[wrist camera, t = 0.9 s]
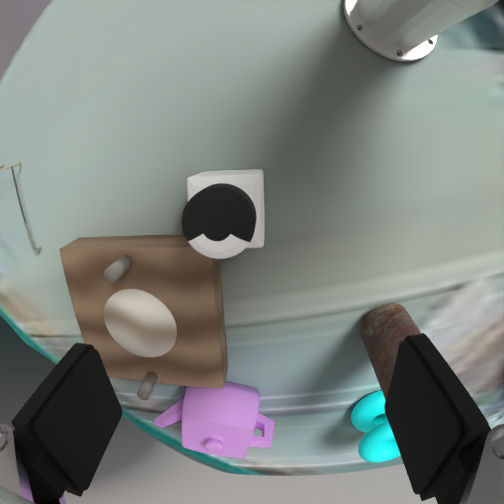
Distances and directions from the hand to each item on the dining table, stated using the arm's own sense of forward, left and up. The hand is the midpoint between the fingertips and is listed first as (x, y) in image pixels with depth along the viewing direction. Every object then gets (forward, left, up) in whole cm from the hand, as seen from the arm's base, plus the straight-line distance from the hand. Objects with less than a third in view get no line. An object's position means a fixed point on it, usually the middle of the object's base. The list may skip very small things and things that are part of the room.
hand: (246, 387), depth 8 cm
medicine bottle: (-1, -3, -29) cm, 29 cm away
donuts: (+34, +20, -29) cm, 49 cm away
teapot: (+31, -7, -29) cm, 43 cm away
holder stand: (+13, -15, -29) cm, 35 cm away
